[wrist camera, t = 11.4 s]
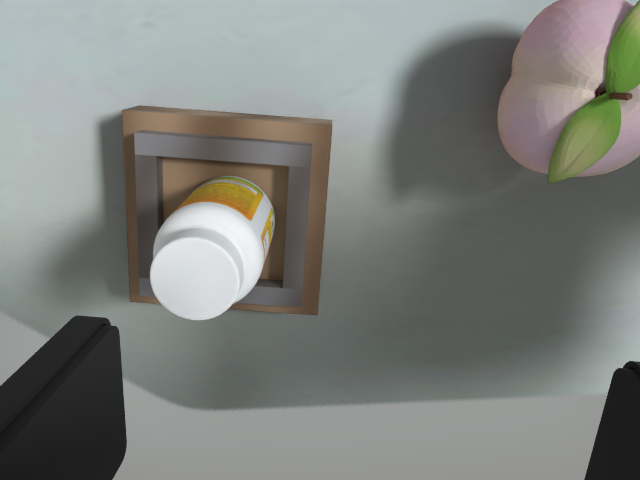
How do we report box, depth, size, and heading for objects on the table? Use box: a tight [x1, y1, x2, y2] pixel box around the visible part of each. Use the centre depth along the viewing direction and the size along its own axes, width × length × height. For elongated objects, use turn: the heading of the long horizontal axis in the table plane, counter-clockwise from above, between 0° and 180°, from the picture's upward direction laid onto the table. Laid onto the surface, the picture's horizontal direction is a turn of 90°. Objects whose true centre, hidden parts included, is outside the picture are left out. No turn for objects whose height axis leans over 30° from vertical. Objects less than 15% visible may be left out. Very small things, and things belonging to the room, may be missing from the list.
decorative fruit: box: [497, 0, 640, 183], centre depth 29 cm, size 9×8×10 cm
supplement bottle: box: [150, 176, 275, 320], centre depth 29 cm, size 5×5×10 cm
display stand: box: [122, 106, 332, 315], centre depth 34 cm, size 12×12×4 cm
